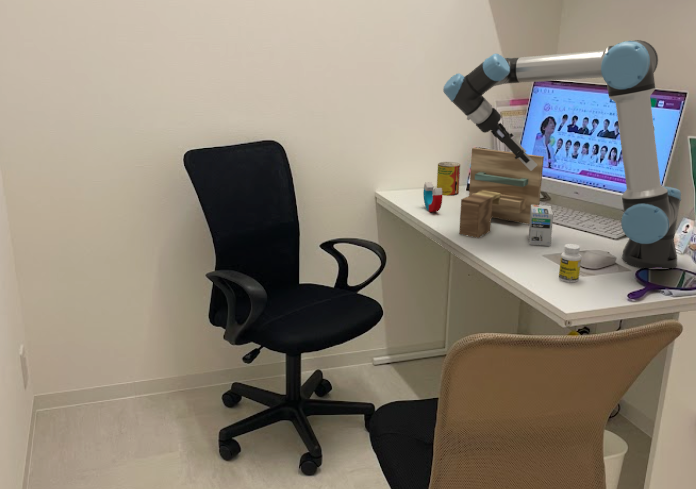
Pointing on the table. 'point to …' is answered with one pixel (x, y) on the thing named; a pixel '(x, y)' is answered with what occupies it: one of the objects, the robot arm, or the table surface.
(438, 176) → the beverage can
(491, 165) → the wall board
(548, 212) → the light bulb box
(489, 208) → the cabinet
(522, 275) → the table surface
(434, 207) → the magnet
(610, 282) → the table surface
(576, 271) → the supplement bottle
